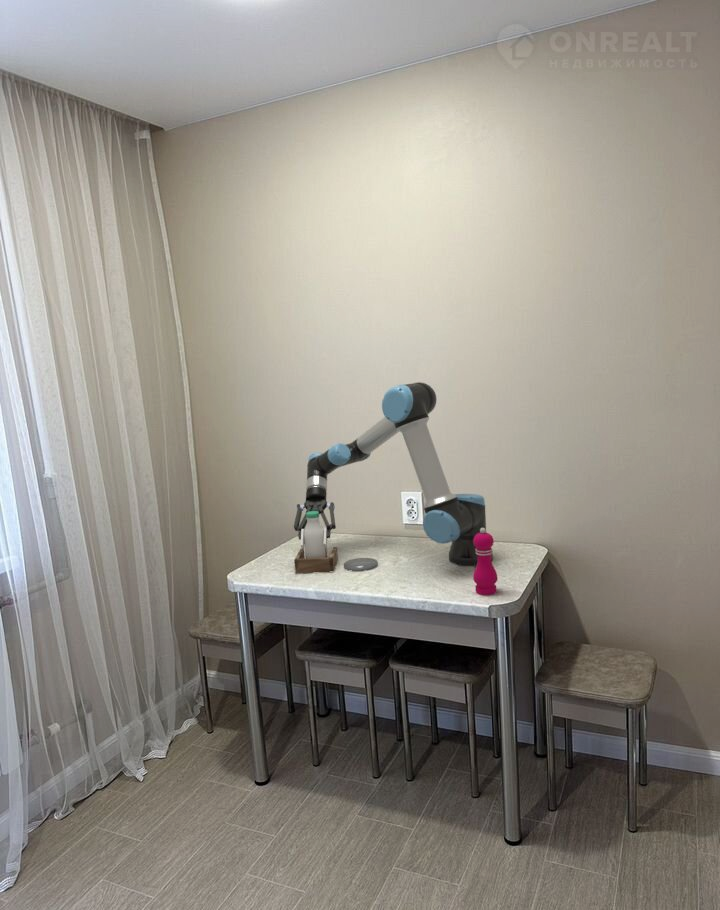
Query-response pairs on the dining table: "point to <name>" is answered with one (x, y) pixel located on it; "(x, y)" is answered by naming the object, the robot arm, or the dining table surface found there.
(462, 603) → the dining table surface
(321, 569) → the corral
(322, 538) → the milk bottle
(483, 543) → the pepper mill
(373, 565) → the coaster
